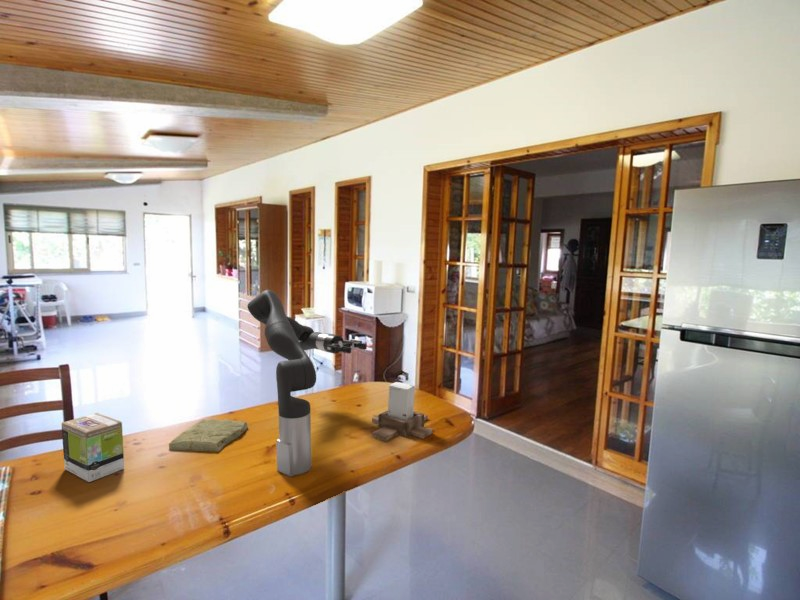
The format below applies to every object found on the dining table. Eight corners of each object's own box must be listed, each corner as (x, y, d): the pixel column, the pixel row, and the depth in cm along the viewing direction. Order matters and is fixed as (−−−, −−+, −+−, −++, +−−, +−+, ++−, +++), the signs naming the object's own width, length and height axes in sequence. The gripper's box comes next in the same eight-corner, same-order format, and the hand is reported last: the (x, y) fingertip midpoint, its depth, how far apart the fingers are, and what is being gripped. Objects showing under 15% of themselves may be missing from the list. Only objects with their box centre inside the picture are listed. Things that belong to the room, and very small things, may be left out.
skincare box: (387, 423, 159) (387, 385, 158) (395, 418, 164) (395, 380, 163) (406, 428, 155) (407, 388, 153) (414, 423, 160) (415, 384, 159)
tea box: (126, 468, 128) (123, 421, 127) (88, 483, 120) (84, 433, 118) (100, 456, 136) (97, 411, 134) (63, 469, 127) (59, 421, 126)
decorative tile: (168, 450, 141) (167, 440, 140) (202, 426, 161) (201, 417, 160) (222, 454, 139) (222, 443, 138) (250, 428, 159) (249, 419, 158)
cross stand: (405, 448, 142) (405, 434, 142) (353, 430, 157) (353, 417, 156) (447, 424, 163) (447, 412, 162) (397, 410, 177) (397, 398, 177)
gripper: (316, 336, 169) (345, 342, 159) (342, 331, 180) (370, 336, 170) (316, 355, 170) (345, 361, 160) (342, 349, 181) (370, 354, 171)
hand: (358, 348), depth 165 cm, fingers open, 8 cm apart
